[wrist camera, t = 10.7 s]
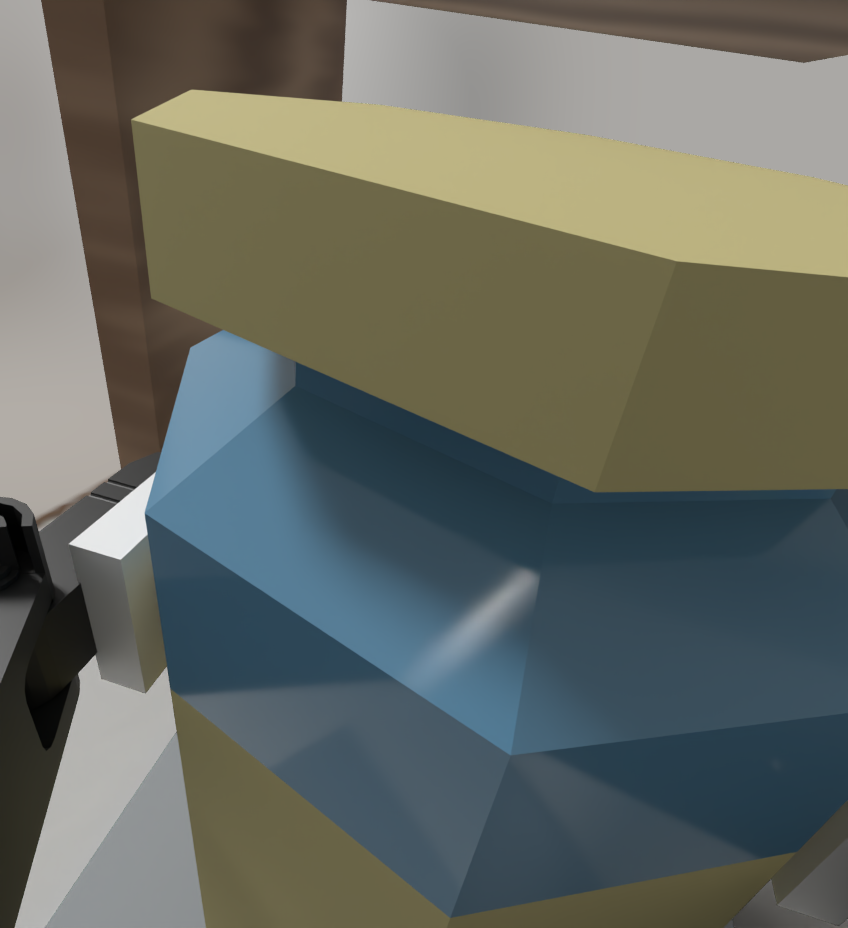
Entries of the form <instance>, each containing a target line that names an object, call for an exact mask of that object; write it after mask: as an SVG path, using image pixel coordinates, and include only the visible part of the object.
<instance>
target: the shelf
mask: <svg viewBox="0 0 848 928" xmlns="http://www.w3.org/2000/svg"><path fill="white" fill-rule="evenodd" d="M372 1H379V2H387V3H394V4H400V5H407V6H414V7H421V8H428V9H435V10H442V11H449V12H456V13H463V14H469V15H476V16H484V17H491V18H497V19H504V20H511V21H519V22H525V23H532V24H539V25H546V26H553V27H560V28H567V29H574V30H580V31H587V32H594V33H602V34H608V35H615V36H622V37H629V38H636V39H643V40H650V41H657V42H664V43H671V44H678V45H684V46H691V47H698V48H705V49H713V50H720V51H726V52H733V53H740V54H747V55H754V56H761V57H768V58H775V59H782V60H789V61H796V62H803V63H805V62H811V61H816V60H822V59H827V58H833V57H838V56H844V55H848V0H372ZM41 2H42V8H43V13H44V19H45V25H46V31H47V37H48V42H49V48H50V54H51V60H52V66H53V72H54V78H55V84H56V90H57V94H58V101H59V107H60V113H61V119H62V125H63V130H64V136H65V142H66V148H67V154H68V160H69V165H70V172H71V177H72V183H73V189H74V195H75V201H76V207H77V212H78V218H79V224H80V230H81V236H82V242H83V248H84V254H85V259H86V265H87V271H88V277H89V283H90V289H91V294H92V300H93V306H94V312H95V318H96V323H97V329H98V336H99V341H100V347H101V353H102V359H103V365H104V371H105V376H106V382H107V388H108V394H109V400H110V406H111V412H112V418H113V423H114V429H115V434H116V441H117V447H118V453H119V459H120V464H121V469H122V468H124V467H125V466H126V465H127V464H129V463H131V462H133V461H136V460H138V459H141V458H143V457H146V456H148V455H151V454H153V453H156V452H160V453H161V452H162V448H163V445H164V441H165V437H166V434H167V430H168V427H169V423H170V419H171V416H172V412H173V409H174V405H175V401H176V398H177V394H178V391H179V387H180V383H181V380H182V376H183V373H184V369H185V366H186V362H187V358H188V355H189V351H190V348H191V347H192V346H194V345H196V344H198V343H200V342H202V341H203V340H205V339H207V338H209V337H211V336H213V335H214V334H216V333H218V332H220V331H222V329H220V328H218V327H216V326H213V325H211V324H209V323H206V322H204V321H202V320H200V319H197V318H195V317H193V316H190V315H188V314H186V313H184V312H181V311H179V310H177V309H174V308H172V307H170V306H168V305H165V304H163V303H161V302H158V301H156V300H154V299H152V298H151V292H150V283H149V275H148V266H147V257H146V248H145V239H144V230H143V221H142V212H141V204H140V195H139V186H138V177H137V168H136V159H135V150H134V142H133V133H132V124H131V119H133V118H135V117H137V116H139V115H141V114H143V113H145V112H147V111H149V110H151V109H153V108H155V107H157V106H159V105H161V104H163V103H165V102H167V101H169V100H171V99H173V98H175V97H177V96H179V95H181V94H183V93H185V92H187V91H189V90H191V89H192V90H204V91H216V92H228V93H241V94H253V95H265V96H277V97H290V98H302V99H314V100H327V101H339V102H342V85H343V66H344V65H343V64H344V45H345V26H346V5H347V0H41Z"/></svg>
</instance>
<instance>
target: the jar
mask: <svg viewBox="0 0 848 928" xmlns="http://www.w3.org/2000/svg"><path fill="white" fill-rule="evenodd" d="M131 124H132V133H133V142H134V150H135V159H136V168H137V177H138V186H139V195H140V204H141V212H142V221H143V230H144V239H145V248H146V257H147V266H148V275H149V283H150V292H151V298H152V299H154V300H156V301H158V302H161V303H163V304H165V305H168V306H170V307H172V308H174V309H177V310H179V311H181V312H184V313H186V314H188V315H190V316H193V317H195V318H197V319H200V320H202V321H204V322H206V323H209V324H211V325H213V326H216V327H218V328H220V329H222V331H220V332H218V333H216V334H214V335H213V336H211V337H209V338H207V339H205V340H203V341H202V342H200V343H198V344H196V345H194V346H192V347H191V348H190V351H189V355H188V358H187V362H186V366H185V369H184V373H183V376H182V380H181V383H180V387H179V391H178V394H177V398H176V401H175V405H174V409H173V412H172V416H171V419H170V423H169V427H168V430H167V434H166V437H165V441H164V445H163V448H162V452H161V455H160V459H159V463H158V466H157V470H156V473H155V477H154V481H153V484H152V488H151V491H150V495H149V499H148V502H147V506H146V509H145V520H146V527H147V534H148V540H149V547H150V554H151V561H152V567H153V574H154V581H155V588H156V594H157V601H158V608H159V615H160V621H161V628H162V635H163V642H164V649H165V655H166V662H167V669H168V676H169V682H170V689H171V696H172V703H173V709H174V716H175V723H176V730H177V736H178V743H179V750H180V757H181V763H182V770H183V777H184V784H185V790H186V797H187V804H188V811H189V817H190V824H191V831H192V838H193V844H194V851H195V858H196V865H197V871H198V878H199V885H200V892H201V898H202V905H203V912H204V919H205V926H206V928H724V927H725V926H726V925H727V924H728V923H729V922H730V921H731V920H732V918H733V917H734V916H735V915H736V914H737V913H738V912H739V911H740V910H741V909H742V908H743V907H744V906H745V905H746V904H747V903H748V902H749V901H750V900H751V899H752V898H753V897H754V896H755V895H756V894H757V893H758V892H759V891H760V890H761V889H762V888H763V887H764V886H765V885H766V883H767V882H768V881H769V880H770V879H771V878H772V877H773V876H774V875H775V874H776V873H777V872H778V871H779V870H780V869H781V868H782V867H783V866H784V865H785V864H786V863H787V862H788V861H789V860H790V859H791V858H792V857H793V856H794V855H795V854H796V853H797V852H798V851H799V850H800V848H801V847H802V846H803V845H804V844H805V843H806V842H807V841H808V840H809V839H810V838H811V837H812V836H813V835H814V834H815V833H816V832H817V831H818V830H819V829H820V828H821V827H822V826H823V825H824V824H825V823H826V822H827V821H828V820H829V819H830V818H831V817H832V816H833V815H834V814H835V812H836V811H837V810H838V809H839V808H840V807H841V806H842V805H843V804H844V803H845V802H846V801H847V800H848V186H847V185H843V184H839V183H835V182H830V181H826V180H822V179H818V178H814V177H809V176H803V175H798V174H793V173H787V172H782V171H777V170H771V169H766V168H761V167H755V166H749V165H744V164H739V163H734V162H728V161H723V160H718V159H712V158H707V157H701V156H696V155H690V154H686V153H680V152H674V151H669V150H664V149H659V148H653V147H648V146H642V145H637V144H632V143H627V142H621V141H616V140H611V139H605V138H600V137H595V136H589V135H583V134H577V133H570V132H563V131H556V130H549V129H542V128H535V127H529V126H522V125H515V124H508V123H501V122H493V121H487V120H481V119H473V118H467V117H460V116H453V115H446V114H439V113H433V112H425V111H419V110H412V109H405V108H398V107H391V106H384V105H376V104H363V103H351V102H339V101H327V100H314V99H302V98H290V97H277V96H265V95H253V94H241V93H228V92H216V91H204V90H192V89H191V90H189V91H187V92H185V93H183V94H181V95H179V96H177V97H175V98H173V99H171V100H169V101H167V102H165V103H163V104H161V105H159V106H157V107H155V108H153V109H151V110H149V111H147V112H145V113H143V114H141V115H139V116H137V117H135V118H133V119H131Z"/></svg>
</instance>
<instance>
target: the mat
mask: <svg viewBox="0 0 848 928" xmlns="http://www.w3.org/2000/svg"><path fill="white" fill-rule="evenodd" d="M45 928H206V926H205V919H204V912H203V905H202V898H201V892H200V885H199V878H198V871H197V865H196V858H195V851H194V844H193V838H192V831H191V824H190V817H189V811H188V804H187V797H186V790H185V784H184V777H183V770H182V763H181V757H180V750H179V743H178V736H177V732H176V733H175V735H174V736H173V737H172V739H171V740H170V742H169V743H168V745H167V746H166V748H165V749H164V751H163V752H162V754H161V755H160V757H159V758H158V760H157V761H156V763H155V764H154V766H153V767H152V769H151V770H150V772H149V773H148V775H147V776H146V778H145V779H144V781H143V782H142V784H141V785H140V787H139V788H138V790H137V791H136V793H135V794H134V796H133V797H132V799H131V800H130V802H129V803H128V804H127V806H126V807H125V809H124V810H123V812H122V813H121V815H120V816H119V818H118V819H117V821H116V822H115V824H114V825H113V827H112V828H111V830H110V831H109V833H108V834H107V836H106V837H105V839H104V840H103V842H102V843H101V845H100V846H99V848H98V849H97V851H96V852H95V854H94V855H93V857H92V858H91V860H90V861H89V863H88V864H87V866H86V867H85V869H84V870H83V872H82V873H81V874H80V876H79V877H78V879H77V880H76V882H75V883H74V885H73V886H72V888H71V889H70V891H69V892H68V894H67V895H66V897H65V898H64V900H63V901H62V903H61V904H60V906H59V907H58V909H57V910H56V912H55V913H54V915H53V916H52V918H51V919H50V921H49V922H48V924H47V925H46V927H45ZM724 928H734V925H733V919H732V920H731V921H730V922H729V923H728V924H727V925H726V926H725V927H724Z"/></svg>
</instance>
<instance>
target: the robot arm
mask: <svg viewBox="0 0 848 928" xmlns="http://www.w3.org/2000/svg"><path fill="white" fill-rule="evenodd" d="M160 455H161V453H160V452H156V453H153V454H151V455H148V456H146V457H143V458H141V459H138V460H136V461H133V462H131V463H129V464H127V465H126V466H125V467H124V468H122V469H121V470H120V471H118V472H117V473H116V474H114V475H113V476H112V477H110V478H109V479H108V482H107V483H105V482H104V483H102V484H101V485H100V486H99V487H97V488H96V489H95V490H93V491H92V492H91V495H90V496H85V497H84V498H83V499H81V500H80V501H79V502H78V503H76V504H75V505H74V506H72V507H71V508H70V509H68V510H67V511H66V512H64V513H63V514H62V515H60V516H59V517H58V518H56V519H55V520H54V521H53V522H51V523H50V524H49V525H47V526H46V527H45V528H43V529H42V530H41V531H38V528H37V524H36V521H35V517H34V514H33V512H32V511H31V510H30V508H29V507H28V506H27V504H25V503H22V502H20V501H18V500H15V499H13V498H5V497H4V498H3V497H0V928H14V927H15V923H16V920H17V916H18V913H19V909H20V906H21V902H22V898H23V895H24V891H25V888H26V884H27V880H28V877H29V873H30V870H31V866H32V862H33V859H34V855H35V852H36V848H37V844H38V841H39V837H40V834H41V830H42V826H43V823H44V819H45V816H46V812H47V809H48V805H49V801H50V798H51V794H52V791H53V787H54V783H55V780H56V776H57V773H58V769H59V765H60V762H61V758H62V755H63V751H64V747H65V744H66V740H67V737H68V733H69V729H70V726H71V722H72V719H73V715H74V712H75V708H76V704H77V701H78V697H79V692H80V680H79V676H78V673H79V672H80V670H81V669H82V668H83V667H84V666H85V665H86V664H87V663H88V662H89V661H90V660H91V659H92V657H93V656H94V655H95V654H96V658H97V662H98V666H99V670H100V675H101V679H104V680H107V681H110V682H113V683H116V684H119V685H122V686H125V687H128V688H131V689H134V690H137V691H140V692H143V693H146V692H147V691H148V690H149V688H150V687H151V686H152V685H153V683H154V682H155V681H156V679H157V678H158V677H159V676H160V674H161V673H162V672H163V670H164V669H165V668H166V667H167V662H166V655H165V649H164V642H163V635H162V628H161V621H160V615H159V608H158V601H157V594H156V588H155V581H154V574H153V567H152V561H151V554H150V547H149V540H148V534H147V527H146V520H145V509H146V506H147V502H148V499H149V495H150V491H151V488H152V484H153V481H154V477H155V473H156V470H157V466H158V463H159V459H160ZM771 879H772V884H773V888H774V893H775V898H776V902H777V905H778V906H781V907H784V908H787V909H790V910H793V911H796V912H799V913H801V914H804V915H807V916H810V917H813V918H816V919H819V920H822V921H825V922H828V923H831V924H834V925H837V926H839V925H840V924H841V923H843V922H844V921H845V920H846V919H848V800H847V801H846V802H845V803H844V804H843V805H842V806H841V807H840V808H839V809H838V810H837V811H836V812H835V814H834V815H833V816H832V817H831V818H830V819H829V820H828V821H827V822H826V823H825V824H824V825H823V826H822V827H821V828H820V829H819V830H818V831H817V832H816V833H815V834H814V835H813V836H812V837H811V838H810V839H809V840H808V841H807V842H806V843H805V844H804V845H803V846H802V847H801V848H800V850H799V851H798V852H797V853H796V854H795V855H794V856H793V857H792V858H791V859H790V860H789V861H788V862H787V863H786V864H785V865H784V866H783V867H782V868H781V869H780V870H779V871H778V872H777V873H776V874H775V875H774V876H773V877H772V878H771Z"/></svg>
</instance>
